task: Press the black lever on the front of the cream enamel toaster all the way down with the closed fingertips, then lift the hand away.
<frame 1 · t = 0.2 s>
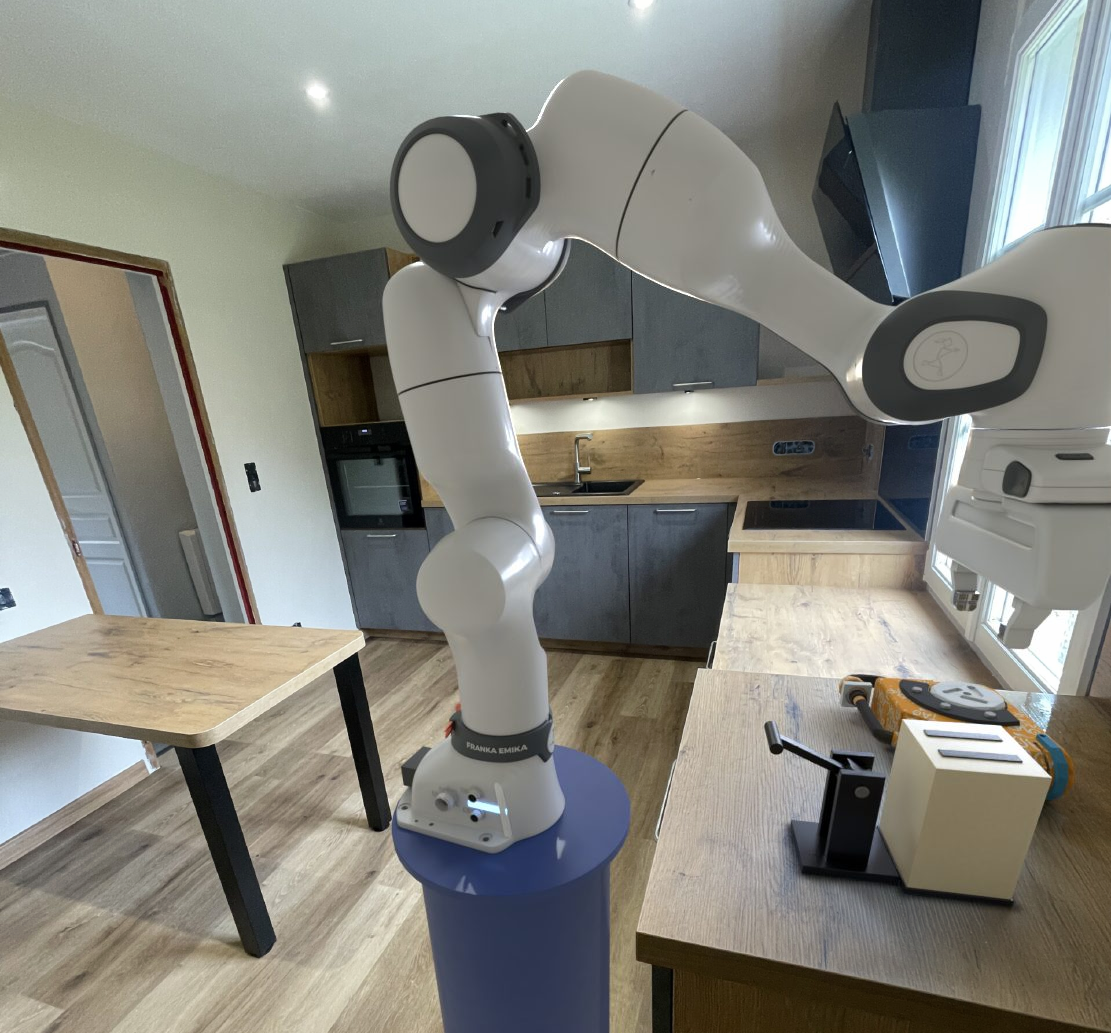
hand: (984, 625, 52), 31 cm above the countertop, tool pointing down, fingers open, 8 cm apart
lever bracket: (840, 854, 69), on the countertop
toaster: (938, 865, 67), on the countertop
lever: (816, 758, 65), point 13 cm above the countertop, hinge at 25.0°
device: (929, 747, 90), on the countertop
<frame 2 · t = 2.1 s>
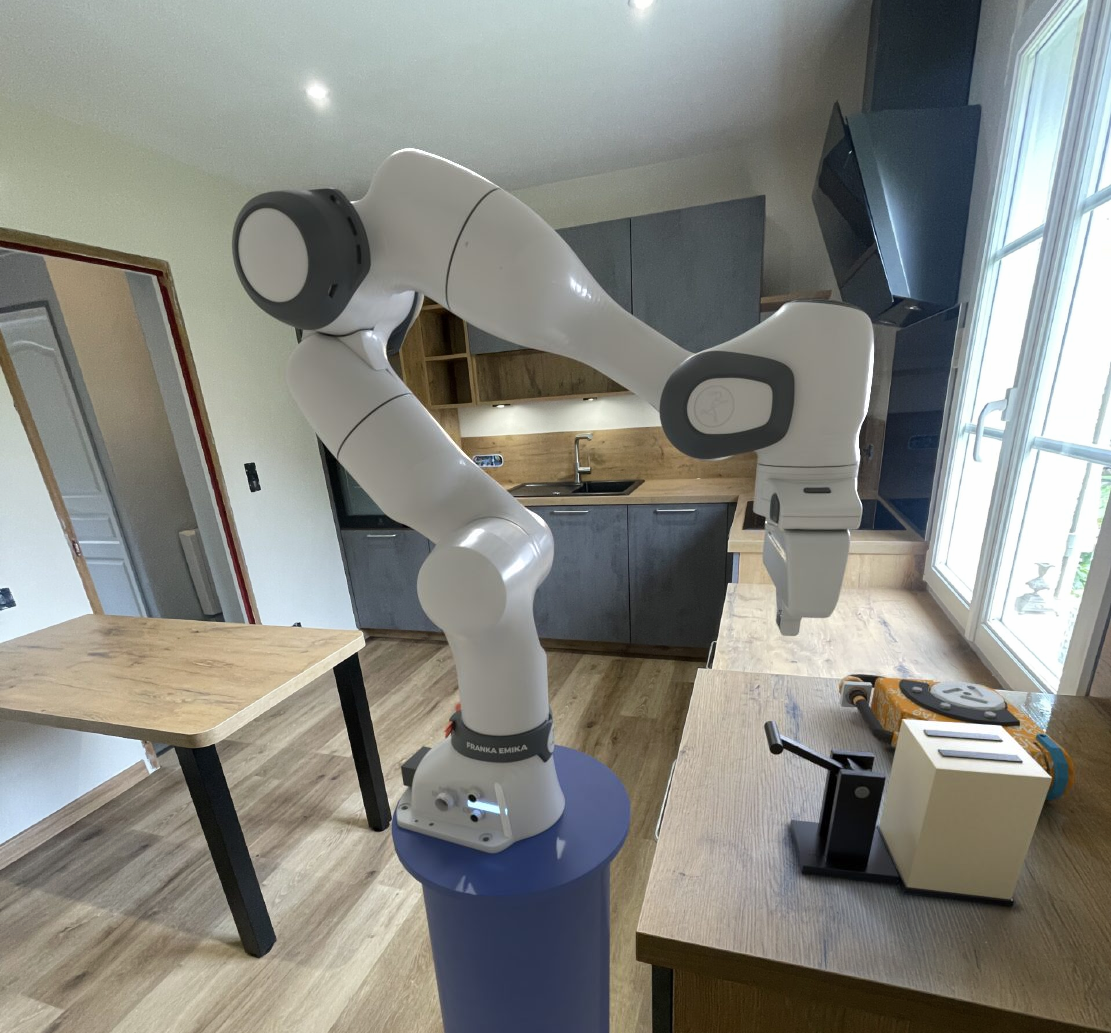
hand: (786, 630, 60), 28 cm above the countertop, tool pointing down, fingers closed
nothing on the countertop moved.
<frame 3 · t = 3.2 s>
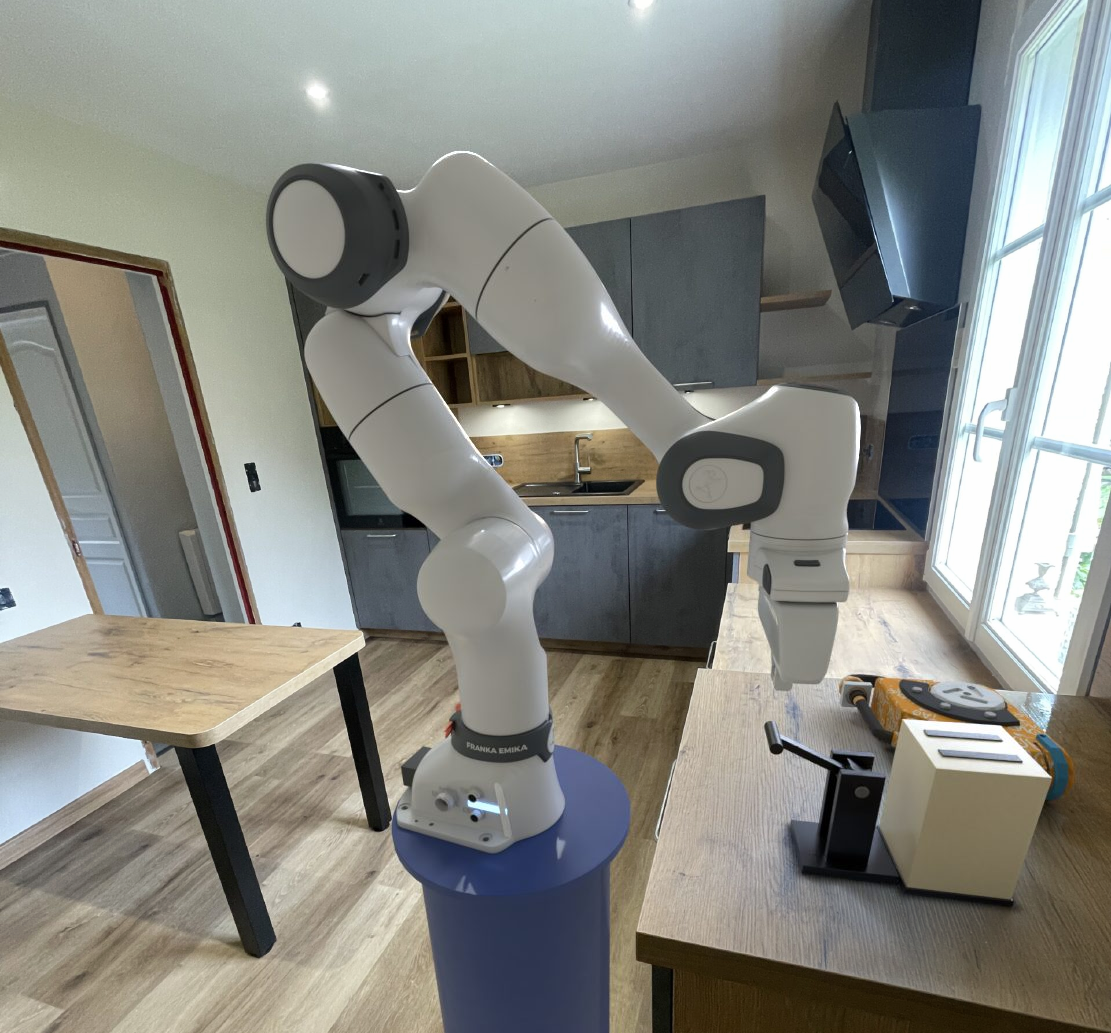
hand: (780, 685, 63), 22 cm above the countertop, tool pointing down, fingers closed
nothing on the countertop moved.
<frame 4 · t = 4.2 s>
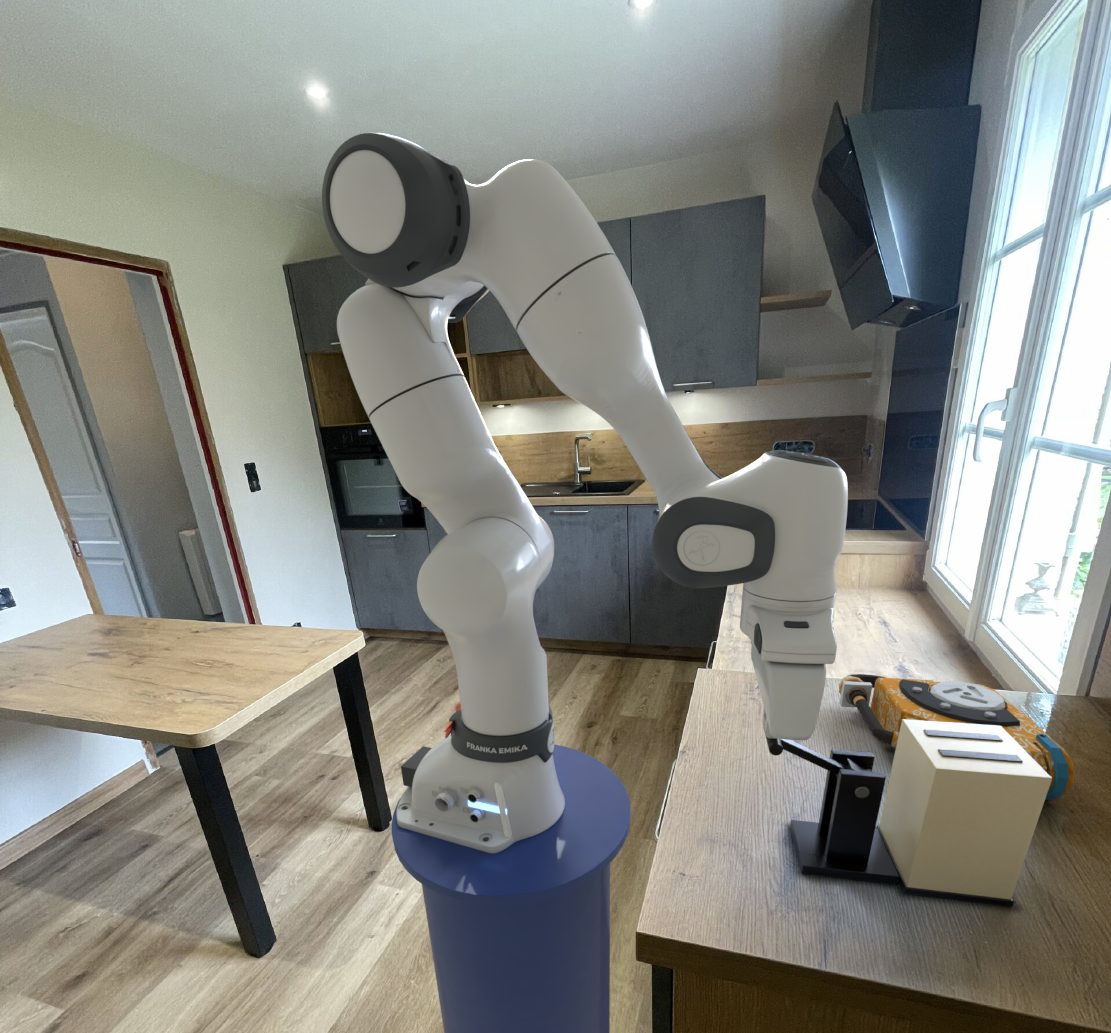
hand: (772, 732, 65), 16 cm above the countertop, tool pointing down, fingers closed, pressing on lever
lever: (816, 758, 65), point 13 cm above the countertop, hinge at 24.3°, touching gripper
everything else where it was.
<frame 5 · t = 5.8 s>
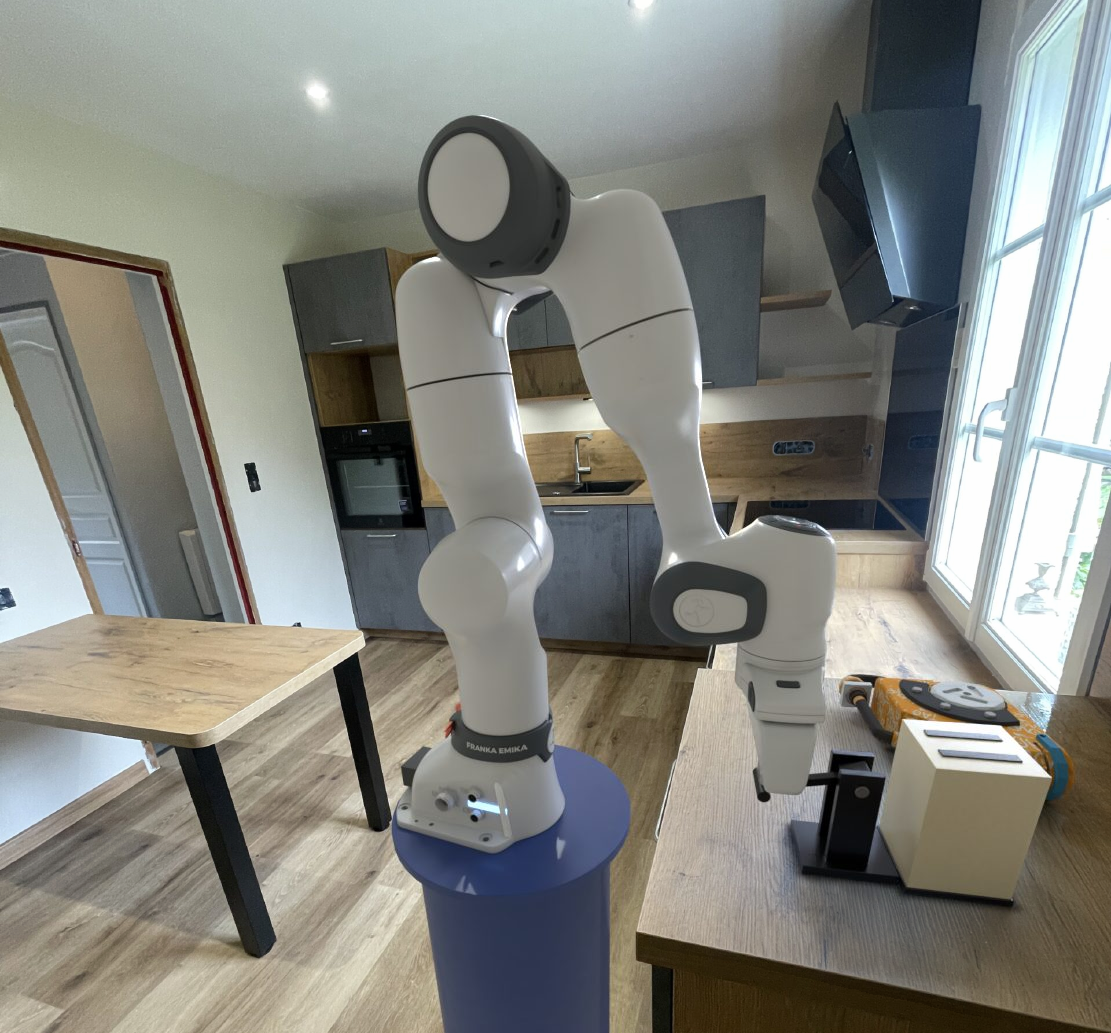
hand: (766, 778, 67), 10 cm above the countertop, tool pointing down, fingers closed, pressing on lever
lever: (810, 780, 66), point 10 cm above the countertop, hinge at -12.5°, touching gripper
everything else where it was.
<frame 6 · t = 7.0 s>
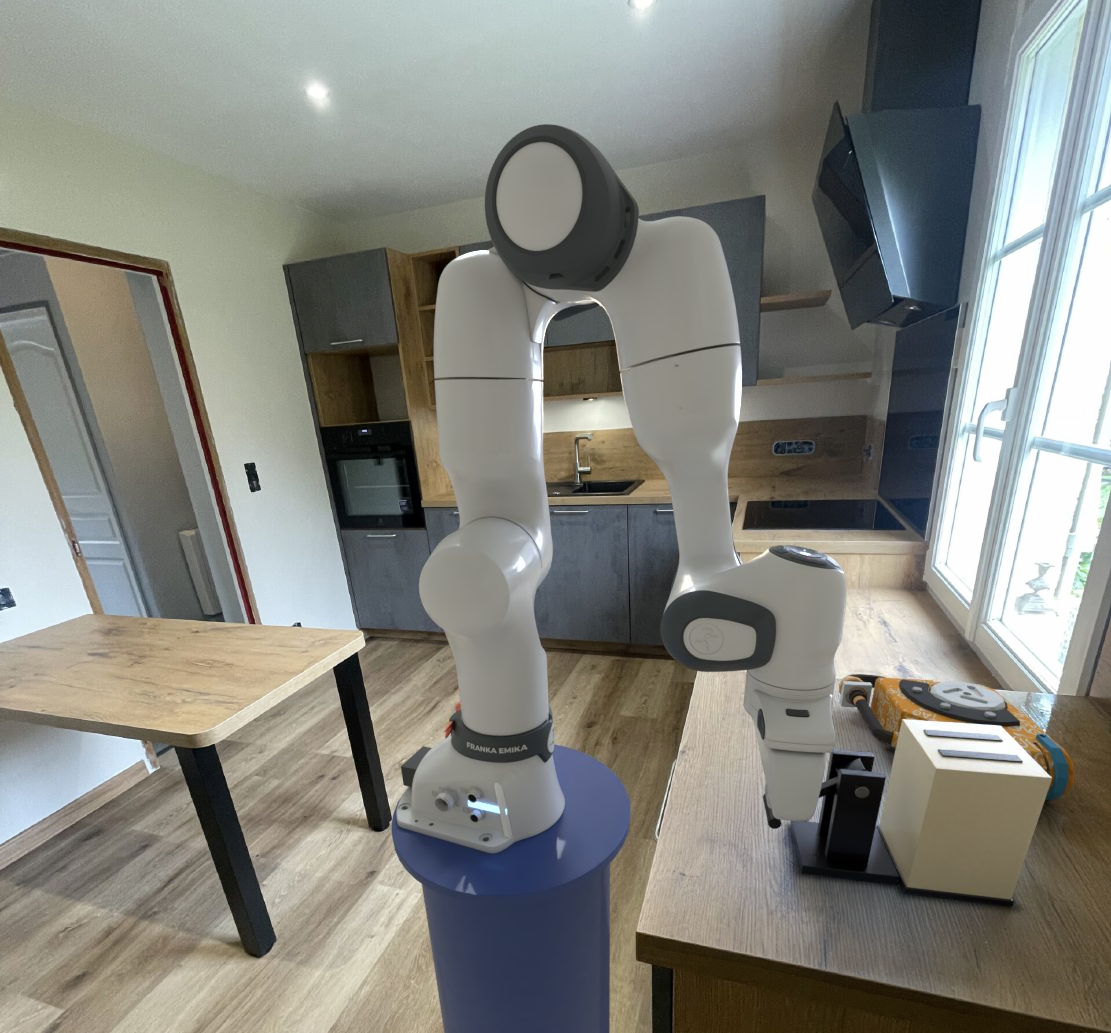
hand: (773, 801, 68), 7 cm above the countertop, tool pointing down, fingers closed, pressing on lever
lever: (814, 792, 66), point 8 cm above the countertop, hinge at -34.4°, touching gripper
everything else where it was.
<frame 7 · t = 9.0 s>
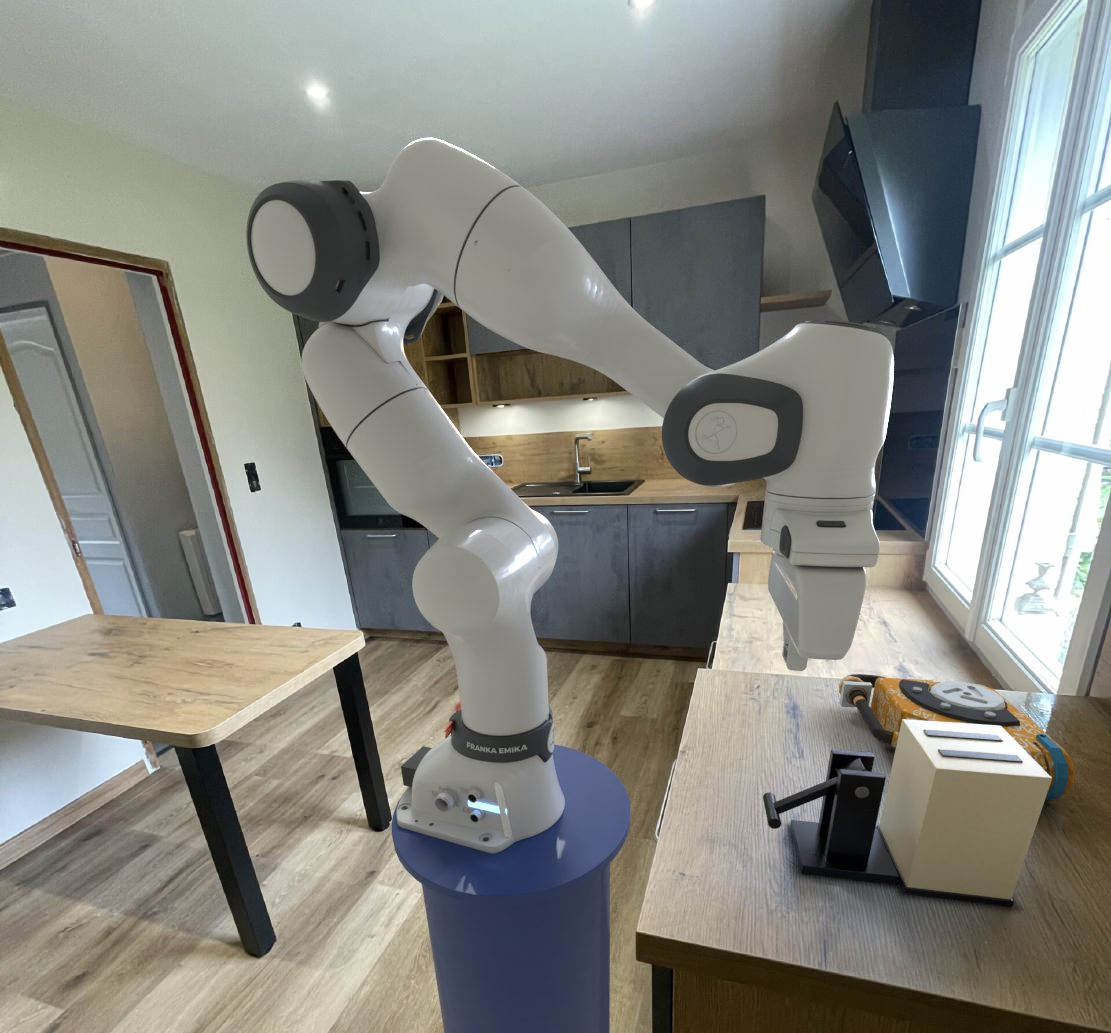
hand: (793, 664, 57), 26 cm above the countertop, tool pointing down, fingers closed
lever: (814, 792, 66), point 8 cm above the countertop, hinge at -34.4°
everything else where it was.
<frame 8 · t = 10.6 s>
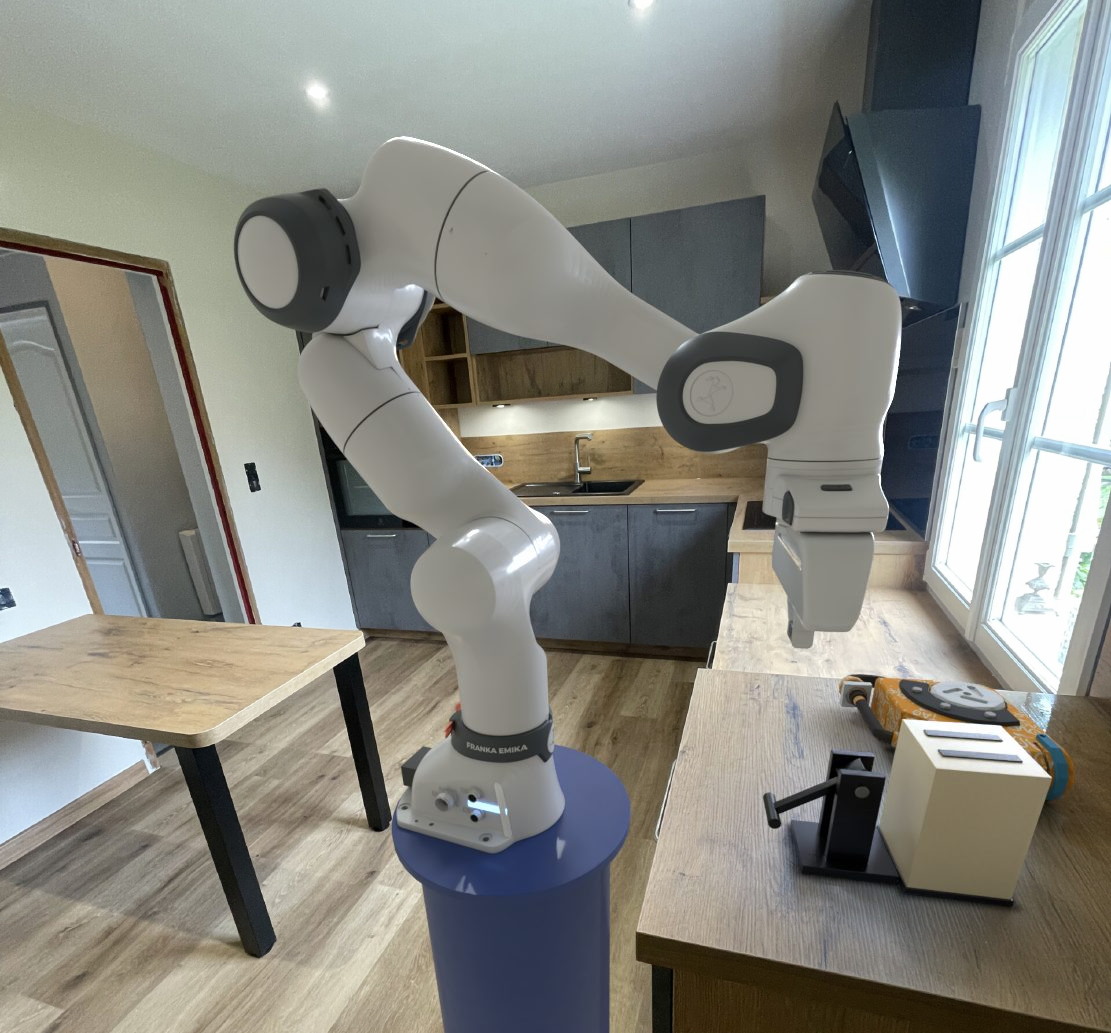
hand: (798, 642, 54), 29 cm above the countertop, tool pointing down, fingers closed
nothing on the countertop moved.
at the end: lever at -34° (first picture: +25°) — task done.
